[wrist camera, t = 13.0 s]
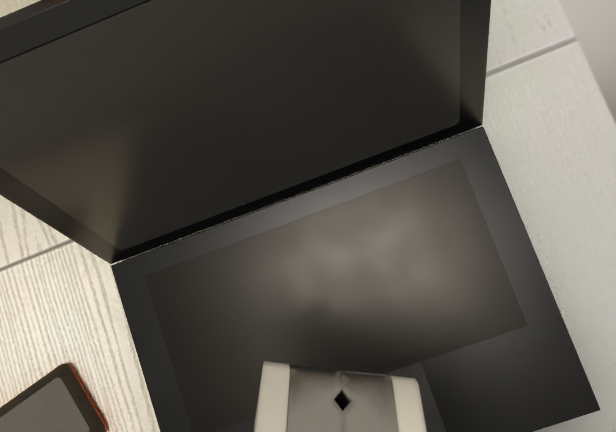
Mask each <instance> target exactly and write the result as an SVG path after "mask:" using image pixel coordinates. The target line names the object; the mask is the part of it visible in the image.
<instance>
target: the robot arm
mask: <svg viewBox="0 0 616 432" xmlns="http://www.w3.org/2000/svg"><path fill="white" fill-rule="evenodd" d="M254 432H427V430H426V424H425V419H424V413H423V407H422V402H421V396H420V390H419V385H418V382H417V381H416V379H415V378H407V377H397V376H389V375H384V374H374V373H364V372H354V371H344V370H339V371H335V370H328V369H321V368H314V367H306V366H299V365H292V364H290V365H289V364H284V363H276V362H268V361H264V363H263V369H262V376H261V383H260V390H259V396H258V403H257V410H256V417H255V424H254Z"/></svg>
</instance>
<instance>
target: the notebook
mask: <svg viewBox="0 0 616 432" xmlns="http://www.w3.org/2000/svg"><path fill="white" fill-rule="evenodd" d="M111 267H112V271H113V274H114V277H115V281H116V284H117V288H118V291H119V294H120V298H121V301H122V304H123V308H124V311H125V314H126V318H127V321H128V324H129V328H130V331H131V334H132V338H133V341H134V344H135V348H136V351H137V354H138V358H139V361H140V364H141V368H142V371H143V374H144V378H145V381H146V384H147V388H148V391H149V395H150V398H151V401H152V405H153V408H154V411H155V415H156V418H157V421H158V425H159V428H160V431H161V432H254V424H255V417H256V410H257V403H258V396H259V390H260V383H261V376H262V369H263V363H264V361H268V362H276V363H284V364H289V365H290V364H292V365H299V366H306V367H314V368H321V369H328V370H335V371H339V370H344V371H354V372H364V373H374V374H384V375H389V376H397V377H407V378H415V379H416V381H417V382H418V385H419V390H420V396H421V402H422V407H423V413H424V419H425V424H426V430H427V432H533V431H536V430H539V429H542V428H545V427H548V426H552V425H555V424H558V423H561V422H564V421H567V420H570V419H573V418H577V417H580V416H583V415H586V414H589V413H592V412H595V411H598V410H600V407H599V405H598V403H597V400H596V398H595V395H594V393H593V391H592V388H591V386H590V383H589V381H588V379H587V376H586V374H585V371H584V369H583V366H582V364H581V362H580V359H579V357H578V354H577V352H576V350H575V347H574V345H573V342H572V340H571V337H570V335H569V333H568V330H567V328H566V325H565V323H564V321H563V318H562V316H561V313H560V311H559V309H558V306H557V304H556V301H555V299H554V296H553V294H552V292H551V289H550V287H549V284H548V282H547V280H546V277H545V275H544V272H543V270H542V268H541V265H540V263H539V260H538V258H537V255H536V253H535V251H534V248H533V246H532V243H531V241H530V239H529V236H528V234H527V231H526V229H525V226H524V224H523V222H522V219H521V217H520V214H519V212H518V210H517V207H516V205H515V202H514V200H513V198H512V195H511V193H510V190H509V188H508V185H507V183H506V181H505V178H504V176H503V173H502V171H501V169H500V166H499V164H498V161H497V159H496V157H495V154H494V152H493V149H492V147H491V144H490V142H489V140H488V137H487V135H486V132H485V130H484V128H483V127H480V128H477V129H475V130H472V131H469V132H467V133H464V134H461V135H459V136H456V137H453V138H451V139H448V140H445V141H443V142H440V143H437V144H435V145H432V146H429V147H427V148H424V149H421V150H419V151H416V152H413V153H411V154H408V155H405V156H403V157H400V158H397V159H395V160H392V161H389V162H387V163H384V164H381V165H379V166H376V167H373V168H371V169H368V170H365V171H363V172H360V173H357V174H355V175H352V176H349V177H347V178H344V179H341V180H339V181H336V182H333V183H331V184H328V185H325V186H323V187H320V188H317V189H315V190H312V191H309V192H307V193H304V194H301V195H299V196H296V197H293V198H291V199H288V200H285V201H283V202H280V203H277V204H275V205H272V206H269V207H267V208H264V209H261V210H258V211H256V212H253V213H250V214H248V215H245V216H242V217H240V218H237V219H234V220H232V221H229V222H226V223H224V224H221V225H218V226H216V227H213V228H210V229H208V230H205V231H202V232H200V233H197V234H194V235H192V236H189V237H186V238H184V239H181V240H178V241H176V242H173V243H170V244H168V245H165V246H162V247H160V248H157V249H154V250H152V251H149V252H146V253H144V254H141V255H138V256H136V257H133V258H130V259H128V260H125V261H122V262H120V263H117V264H114V265H112V266H111Z"/></svg>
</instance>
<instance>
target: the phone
mask: <svg viewBox="0 0 616 432" xmlns="http://www.w3.org/2000/svg"><path fill="white" fill-rule="evenodd" d="M0 432H106V425H105V423H104V421H103V419H102V418H101V416H100V414H99V413H98V411H97V409H96V407H95V406H94V404H93V402H92V401H91V399H90V397H89V395H88V394H87V392H86V390H85V389H84V387H83V385H82V383H81V382H80V380H79V378H78V377H77V375H76V373H75V371H74V370H73V368H72V367H71V365H69V364H61V365H60V366H58V367H57V368H55V369H54V370H53V371H51V372H50V373H48V374H47V375H46V376H44V377H43V378H41V379H40V380H39V381H37V382H36V383H34V384H33V385H32V386H30V387H29V388H27V389H26V390H25V391H23V392H22V393H20V394H19V395H17V396H16V397H15V398H13V399H12V400H10V401H9V402H8V403H6V404H5V405H3V406H2V407H1V408H0Z"/></svg>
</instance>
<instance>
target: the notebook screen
mask: <svg viewBox="0 0 616 432" xmlns="http://www.w3.org/2000/svg"><path fill="white" fill-rule="evenodd" d="M490 8H491V0H41V1H38V2H36V3H34V4H31V5H29V6H27V7H24V8H22V9H20V10H17V11H15V12H13V13H10V14H8V15H6V16H3V17H1V18H0V195H2V196H3V197H5V198H6V199H8V200H10V201H11V202H13V203H14V204H16V205H17V206H19V207H21V208H22V209H24V210H25V211H27V212H29V213H30V214H32V215H33V216H35V217H37V218H38V219H40V220H41V221H43V222H44V223H46V224H48V225H49V226H51V227H52V228H54V229H56V230H57V231H59V232H60V233H62V234H64V235H65V236H67V237H68V238H70V239H72V240H73V241H75V242H76V243H78V244H79V245H81V246H83V247H84V248H86V249H87V250H89V251H91V252H92V253H94V254H95V255H97V256H99V257H100V258H102V259H103V260H105V261H106V262H108V263H110V264H112V263H115V262H118V261H120V260H123V259H126V258H128V257H131V256H134V255H136V254H139V253H142V252H144V251H147V250H150V249H152V248H155V247H158V246H160V245H163V244H166V243H168V242H171V241H174V240H176V239H179V238H182V237H184V236H187V235H190V234H192V233H195V232H198V231H200V230H203V229H206V228H208V227H211V226H214V225H216V224H219V223H222V222H224V221H227V220H230V219H232V218H235V217H238V216H240V215H243V214H246V213H248V212H251V211H254V210H256V209H259V208H262V207H264V206H267V205H270V204H272V203H275V202H278V201H280V200H283V199H286V198H288V197H291V196H294V195H296V194H299V193H302V192H304V191H307V190H310V189H312V188H315V187H318V186H320V185H323V184H326V183H328V182H331V181H334V180H336V179H339V178H342V177H344V176H347V175H350V174H352V173H355V172H358V171H360V170H363V169H366V168H368V167H371V166H374V165H376V164H379V163H382V162H384V161H387V160H390V159H392V158H395V157H398V156H400V155H403V154H406V153H408V152H411V151H414V150H416V149H419V148H422V147H424V146H427V145H430V144H432V143H435V142H438V141H440V140H443V139H446V138H448V137H451V136H454V135H456V134H459V133H462V132H465V131H467V130H470V129H473V128H475V127H478V126H481V125H482V120H483V106H484V92H485V78H486V64H487V50H488V36H489V22H490Z"/></svg>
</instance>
